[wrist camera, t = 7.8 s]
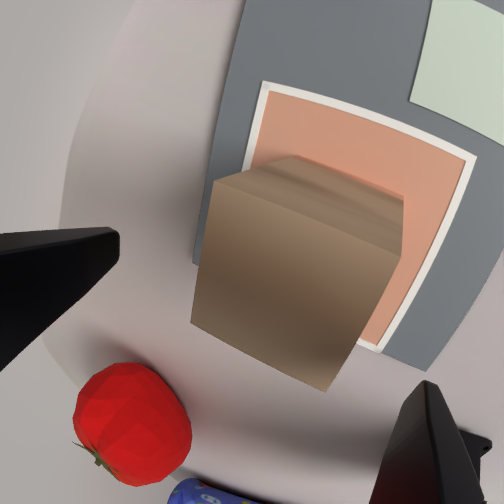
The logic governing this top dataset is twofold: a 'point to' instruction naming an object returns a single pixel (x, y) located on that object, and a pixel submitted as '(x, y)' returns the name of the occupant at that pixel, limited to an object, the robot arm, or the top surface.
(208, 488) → the pencil case
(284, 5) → the picture board
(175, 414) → the tomato
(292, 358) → the stamp
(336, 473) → the top surface
